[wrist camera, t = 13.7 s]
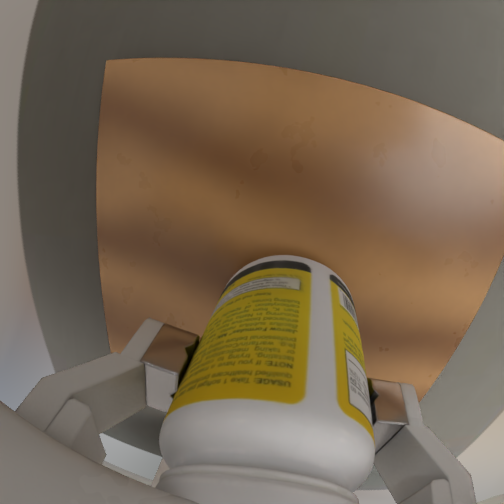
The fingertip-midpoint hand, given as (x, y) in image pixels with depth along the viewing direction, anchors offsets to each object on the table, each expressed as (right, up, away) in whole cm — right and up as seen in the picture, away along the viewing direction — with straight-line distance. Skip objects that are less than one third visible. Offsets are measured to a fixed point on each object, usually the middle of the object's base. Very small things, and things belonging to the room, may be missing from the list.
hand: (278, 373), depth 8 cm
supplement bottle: (+1, +1, +3) cm, 3 cm away
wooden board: (+1, +2, +4) cm, 4 cm away
